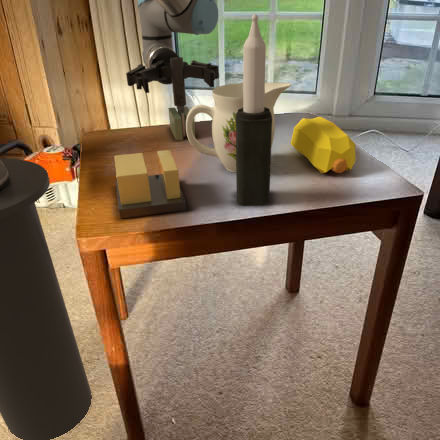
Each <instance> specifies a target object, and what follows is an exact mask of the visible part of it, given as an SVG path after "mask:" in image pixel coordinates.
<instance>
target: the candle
mask: <svg viewBox="0 0 440 440" xmlns="http://www.w3.org/2000/svg"><path fill="white" fill-rule="evenodd" d="M258 21H259V16H258V14H253V15H252V16H251V25H250V29H249V33H248V36H247V38H246V40H245V41H244V44H243V47H242V48H243V49H242V50H243V51H242V52H243V53H242V54H243V55H242V57H243V58H242V59H243V60H242V63H243V64H242V65H243V68H242V69H243V73H242V77H243V78H242V80H243V82H242V83H243V108H240V109H238V112H237V113H236V173H235V174H236V176H235V177H236V178H235V180H236V181H235V183H236V204H238V205H240V206H266V205H268V204H270V194H271V193H270V190H271V188H270V187H271V163H272V161H271V160H272V147H271V138H272V115H271V112H270V109H268V108H266V107H264V96H265V83H266V57H267V56H266V55H267V54H266V53H267V52H266V51H267V46H266V43H265V41H264V38H263V37H262V35H261V31H260V26H259V22H258Z"/></svg>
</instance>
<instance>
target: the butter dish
mask: <svg viewBox="0 0 440 440" xmlns="http://www.w3.org/2000/svg"><path fill="white" fill-rule="evenodd" d="M156 154H157V162H158V170H159V174H153V175H152V174H151V175H149V173H148V169H147V165H146V161H145V158H144V154H143V152H137V153H128V154H127V153H126V154H117V155H114V166H115V173H116V174H115V175H116V179H115V189H116V199H117V208H118V215H119V219H121V220H122V219H128V218H129V219H130V218H136V217H137V218H138V217H145V216H153V215H160V214H167V213H168V214H169V213H177V212H184V211H187V204H186V203H187V202H186V200H185V197H184V194H183V192H182V189H181V187H180V176H179V175H180V173H179V169H178V166H177V163H176V161H175V159H174V156H173V154H172V152H171V150H170V149H166V150H157V151H156Z"/></svg>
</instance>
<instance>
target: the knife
mask: <svg viewBox="0 0 440 440" xmlns="http://www.w3.org/2000/svg"><path fill="white" fill-rule="evenodd" d="M183 62H184V57H182V56H179V57H173V58H170V64H171V75H172V84H171V85H172V98H173V106H174V107H175V108H176V110H177V112H178V113H179V115H180V117H181V120H182V133H183V138H187V135H186V130H185V117H184V112H183V111H185V109H184V107H185V106H186V105H187V96H186V95H187V94H186V79H184V66H183Z"/></svg>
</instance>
